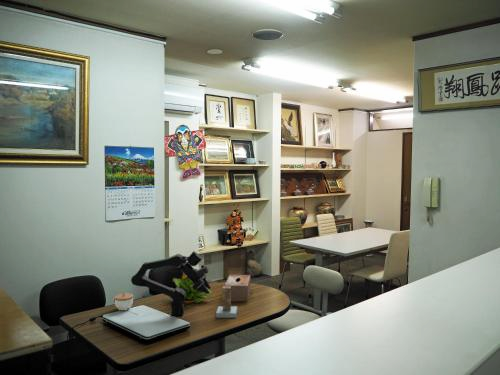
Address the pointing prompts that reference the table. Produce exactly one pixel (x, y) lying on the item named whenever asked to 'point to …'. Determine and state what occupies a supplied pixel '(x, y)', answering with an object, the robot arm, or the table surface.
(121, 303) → the lidded jar
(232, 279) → the tissue box cover
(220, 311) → the slate base
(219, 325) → the table surface
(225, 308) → the walnut block
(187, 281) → the potted flower
